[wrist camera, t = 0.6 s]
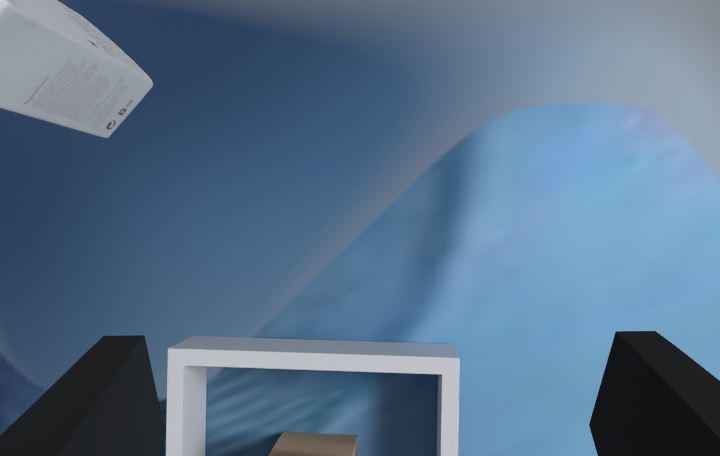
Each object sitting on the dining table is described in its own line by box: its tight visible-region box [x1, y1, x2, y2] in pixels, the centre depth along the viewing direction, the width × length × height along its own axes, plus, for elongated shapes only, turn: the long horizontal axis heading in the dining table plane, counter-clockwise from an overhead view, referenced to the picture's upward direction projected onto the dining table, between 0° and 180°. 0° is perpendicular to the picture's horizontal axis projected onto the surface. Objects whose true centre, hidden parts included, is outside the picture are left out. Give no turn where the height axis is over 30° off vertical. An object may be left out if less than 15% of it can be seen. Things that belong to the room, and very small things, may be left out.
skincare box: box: [0, 0, 153, 138], centre depth 28 cm, size 6×4×12 cm
